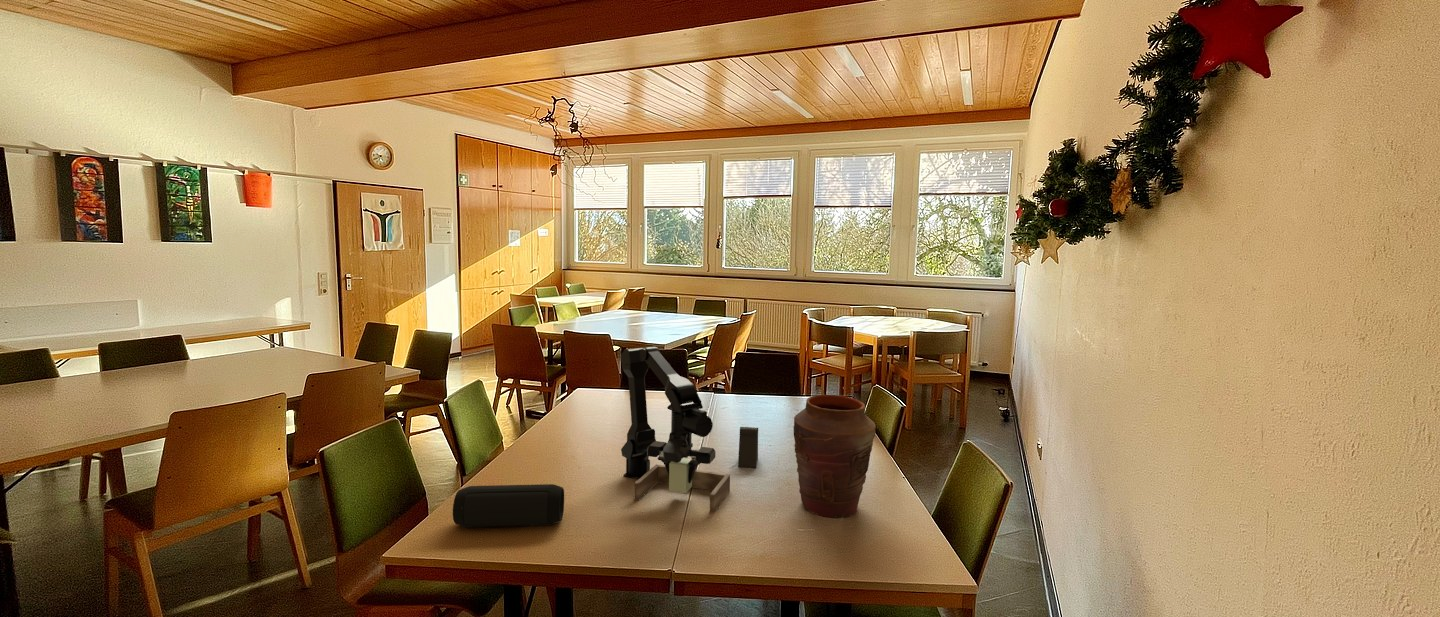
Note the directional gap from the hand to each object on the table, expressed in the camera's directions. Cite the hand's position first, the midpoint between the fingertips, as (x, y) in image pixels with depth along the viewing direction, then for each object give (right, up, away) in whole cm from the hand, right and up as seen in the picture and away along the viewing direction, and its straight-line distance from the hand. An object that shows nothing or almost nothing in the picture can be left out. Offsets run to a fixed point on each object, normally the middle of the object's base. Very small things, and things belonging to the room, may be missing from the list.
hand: (680, 481), depth 168 cm
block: (0, -2, 0) cm, 2 cm away
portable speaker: (-42, -6, -17) cm, 46 cm away
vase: (+42, -7, -3) cm, 42 cm away
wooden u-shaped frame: (0, -5, +2) cm, 5 cm away
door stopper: (+20, -3, +30) cm, 36 cm away
